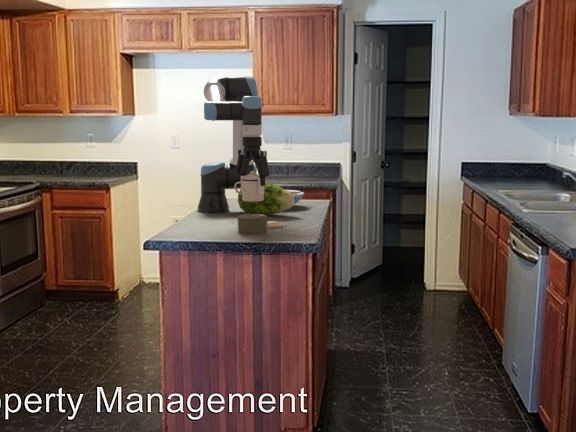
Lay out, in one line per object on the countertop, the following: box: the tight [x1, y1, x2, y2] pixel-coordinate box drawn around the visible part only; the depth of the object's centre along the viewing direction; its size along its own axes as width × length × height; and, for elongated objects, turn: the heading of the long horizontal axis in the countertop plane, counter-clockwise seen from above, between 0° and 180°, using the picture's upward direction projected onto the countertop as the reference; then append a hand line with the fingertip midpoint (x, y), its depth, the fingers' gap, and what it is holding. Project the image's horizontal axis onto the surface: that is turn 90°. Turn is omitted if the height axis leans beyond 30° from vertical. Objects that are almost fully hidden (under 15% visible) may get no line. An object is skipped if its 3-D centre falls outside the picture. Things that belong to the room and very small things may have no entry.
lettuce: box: [237, 182, 295, 216], centre depth 289 cm, size 15×27×16 cm, turn 82°
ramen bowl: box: [285, 189, 307, 205], centre depth 315 cm, size 25×23×8 cm
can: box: [237, 213, 268, 236], centre depth 250 cm, size 12×12×7 cm
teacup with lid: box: [234, 171, 264, 202], centre depth 248 cm, size 12×9×12 cm
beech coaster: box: [267, 220, 284, 229], centre depth 264 cm, size 10×10×1 cm
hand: (252, 192), depth 248 cm, fingers closed on teacup with lid, 9 cm apart
